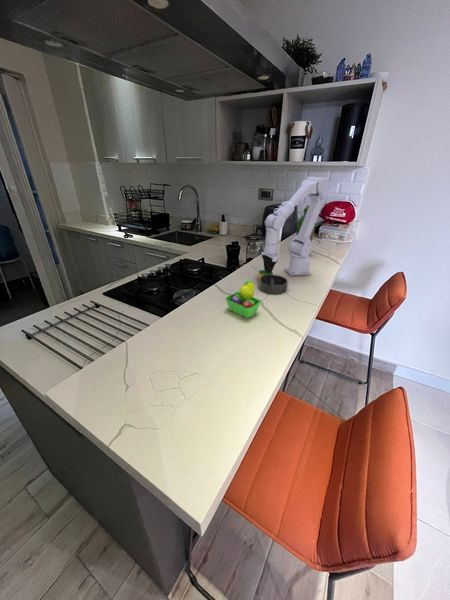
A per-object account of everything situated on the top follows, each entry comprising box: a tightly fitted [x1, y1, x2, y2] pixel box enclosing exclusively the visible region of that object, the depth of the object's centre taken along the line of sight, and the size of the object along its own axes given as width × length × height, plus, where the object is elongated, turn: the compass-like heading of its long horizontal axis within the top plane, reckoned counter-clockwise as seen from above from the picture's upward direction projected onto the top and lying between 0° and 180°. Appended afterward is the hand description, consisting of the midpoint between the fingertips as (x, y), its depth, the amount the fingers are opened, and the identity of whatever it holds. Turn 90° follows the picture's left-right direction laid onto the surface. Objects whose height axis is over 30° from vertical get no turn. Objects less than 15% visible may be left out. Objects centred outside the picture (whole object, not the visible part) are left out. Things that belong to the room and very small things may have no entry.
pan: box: [258, 274, 289, 295], centre depth 113 cm, size 12×12×4 cm
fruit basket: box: [225, 280, 262, 319], centre depth 93 cm, size 11×9×11 cm
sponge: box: [257, 269, 274, 280], centre depth 121 cm, size 4×6×4 cm
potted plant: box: [295, 204, 317, 243], centre depth 149 cm, size 11×11×28 cm
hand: (267, 271), depth 120 cm, fingers closed on sponge, 3 cm apart
